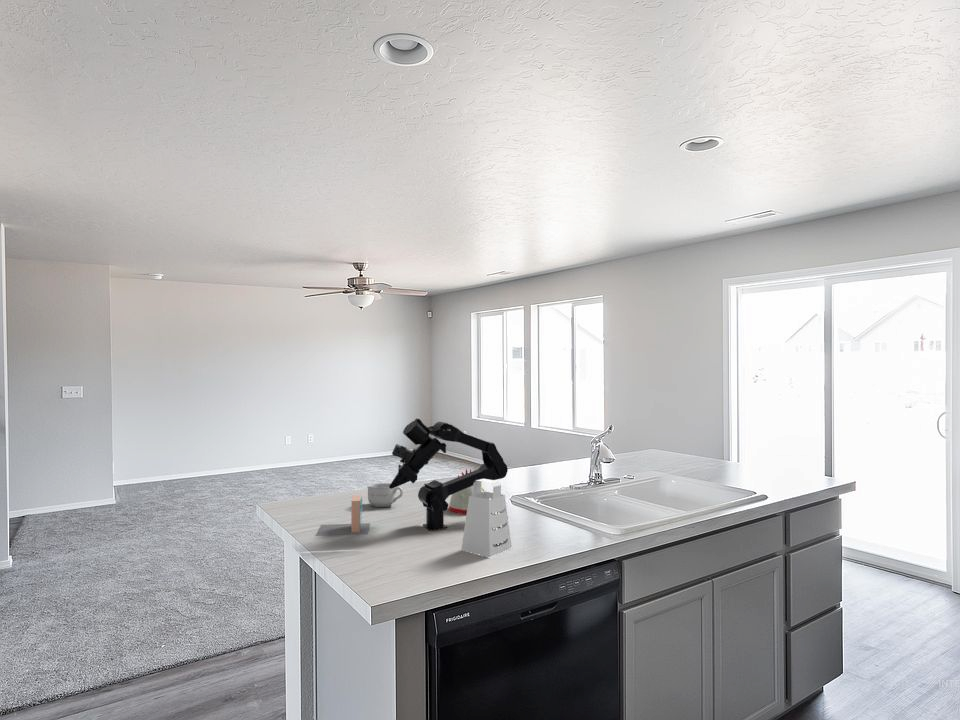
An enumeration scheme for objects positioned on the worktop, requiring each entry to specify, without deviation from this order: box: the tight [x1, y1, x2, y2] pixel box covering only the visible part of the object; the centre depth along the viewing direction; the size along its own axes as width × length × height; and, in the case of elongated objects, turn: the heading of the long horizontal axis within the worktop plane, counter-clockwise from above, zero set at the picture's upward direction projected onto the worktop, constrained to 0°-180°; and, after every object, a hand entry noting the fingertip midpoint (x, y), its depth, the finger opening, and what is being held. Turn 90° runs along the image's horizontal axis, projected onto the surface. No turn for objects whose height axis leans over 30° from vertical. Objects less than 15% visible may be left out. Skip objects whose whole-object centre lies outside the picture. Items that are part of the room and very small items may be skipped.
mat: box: [315, 522, 371, 537], centre depth 183 cm, size 16×12×1 cm
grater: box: [460, 479, 513, 558], centre depth 166 cm, size 10×10×20 cm
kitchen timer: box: [448, 468, 485, 515], centre depth 211 cm, size 14×14×15 cm
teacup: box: [367, 482, 404, 508], centre depth 215 cm, size 14×11×8 cm
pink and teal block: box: [350, 494, 363, 533], centre depth 184 cm, size 3×8×10 cm, turn 7°
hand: (390, 487), depth 185 cm, fingers closed
